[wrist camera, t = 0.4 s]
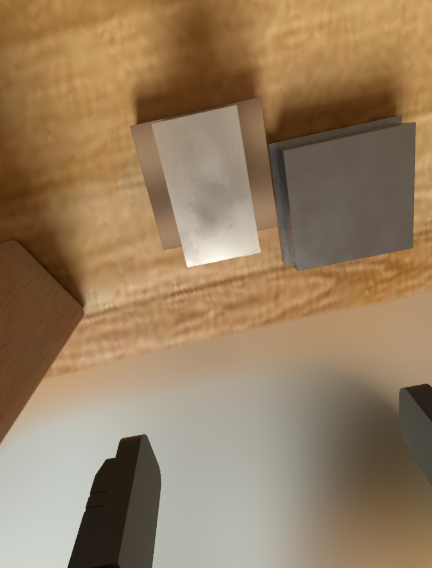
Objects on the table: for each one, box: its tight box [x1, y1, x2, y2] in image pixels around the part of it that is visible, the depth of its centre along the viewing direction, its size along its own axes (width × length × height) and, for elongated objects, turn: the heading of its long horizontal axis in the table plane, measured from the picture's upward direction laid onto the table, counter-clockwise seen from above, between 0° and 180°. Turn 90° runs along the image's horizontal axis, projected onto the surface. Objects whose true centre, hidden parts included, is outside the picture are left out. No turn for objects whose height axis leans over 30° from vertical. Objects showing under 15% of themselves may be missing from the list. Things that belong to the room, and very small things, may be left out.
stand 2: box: [267, 115, 416, 271], centre depth 30 cm, size 11×11×4 cm
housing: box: [151, 105, 260, 267], centre depth 25 cm, size 9×5×7 cm, turn 12°
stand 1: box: [130, 97, 278, 250], centre depth 30 cm, size 10×10×3 cm
